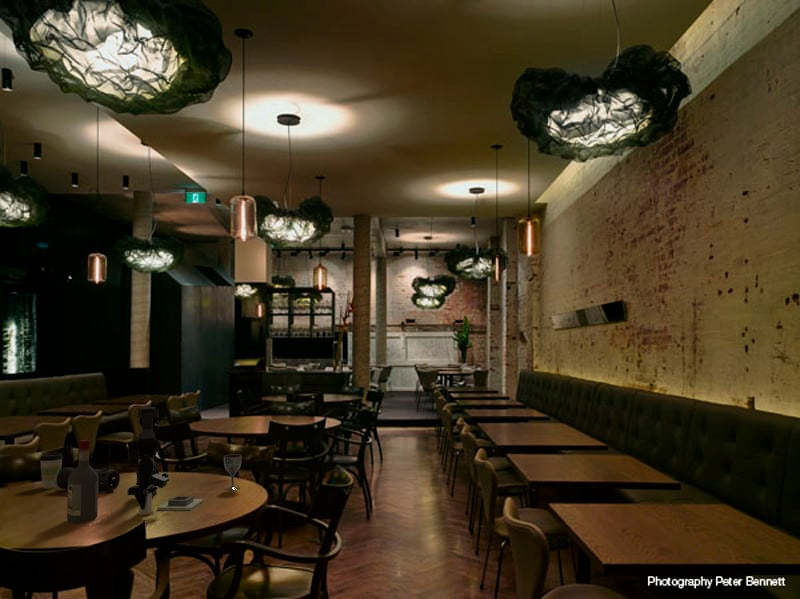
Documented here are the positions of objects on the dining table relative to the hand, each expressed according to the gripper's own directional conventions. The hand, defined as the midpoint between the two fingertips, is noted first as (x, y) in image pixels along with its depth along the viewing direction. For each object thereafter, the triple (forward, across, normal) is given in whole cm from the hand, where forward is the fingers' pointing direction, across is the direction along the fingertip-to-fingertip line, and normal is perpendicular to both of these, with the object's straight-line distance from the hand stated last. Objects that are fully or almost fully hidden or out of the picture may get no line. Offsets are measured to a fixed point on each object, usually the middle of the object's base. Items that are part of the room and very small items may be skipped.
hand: (145, 508), depth 245 cm
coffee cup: (+2, +43, +66) cm, 79 cm away
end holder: (+2, +11, -10) cm, 15 cm away
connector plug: (+2, 0, 0) cm, 2 cm away
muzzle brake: (+2, +35, +44) cm, 56 cm away
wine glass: (+2, +41, -22) cm, 47 cm away
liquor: (+2, -10, +20) cm, 22 cm away
